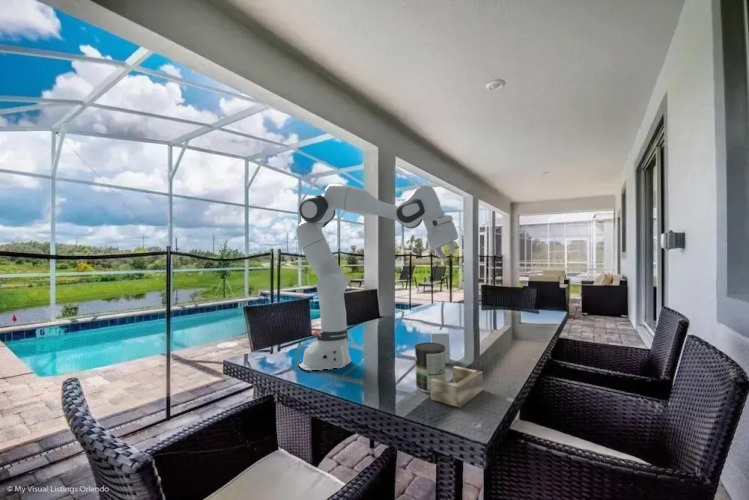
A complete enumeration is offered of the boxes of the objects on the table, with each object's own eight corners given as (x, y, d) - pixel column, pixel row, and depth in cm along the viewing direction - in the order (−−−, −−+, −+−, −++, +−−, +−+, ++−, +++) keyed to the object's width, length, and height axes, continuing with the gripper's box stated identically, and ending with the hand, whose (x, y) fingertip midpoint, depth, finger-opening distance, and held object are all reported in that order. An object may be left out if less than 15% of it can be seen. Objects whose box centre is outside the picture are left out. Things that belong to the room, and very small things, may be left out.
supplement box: (448, 358, 151) (447, 329, 151) (450, 363, 143) (449, 333, 144) (431, 358, 151) (430, 329, 152) (432, 363, 144) (431, 333, 144)
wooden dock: (430, 399, 109) (430, 380, 109) (455, 383, 122) (455, 366, 122) (459, 407, 102) (459, 387, 102) (483, 389, 115) (482, 371, 115)
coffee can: (412, 391, 116) (411, 348, 116) (420, 380, 125) (419, 341, 125) (442, 395, 112) (441, 351, 112) (448, 383, 121) (447, 343, 121)
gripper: (420, 232, 148) (431, 262, 146) (439, 218, 128) (452, 253, 127) (433, 228, 149) (444, 258, 148) (453, 214, 130) (466, 248, 128)
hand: (448, 256), depth 137 cm, fingers open, 8 cm apart
